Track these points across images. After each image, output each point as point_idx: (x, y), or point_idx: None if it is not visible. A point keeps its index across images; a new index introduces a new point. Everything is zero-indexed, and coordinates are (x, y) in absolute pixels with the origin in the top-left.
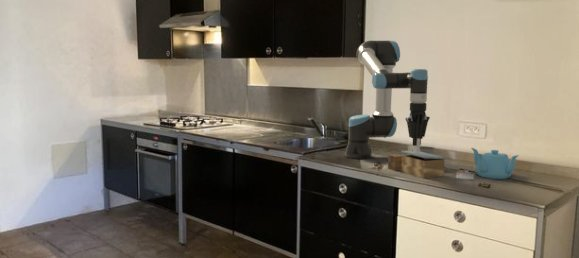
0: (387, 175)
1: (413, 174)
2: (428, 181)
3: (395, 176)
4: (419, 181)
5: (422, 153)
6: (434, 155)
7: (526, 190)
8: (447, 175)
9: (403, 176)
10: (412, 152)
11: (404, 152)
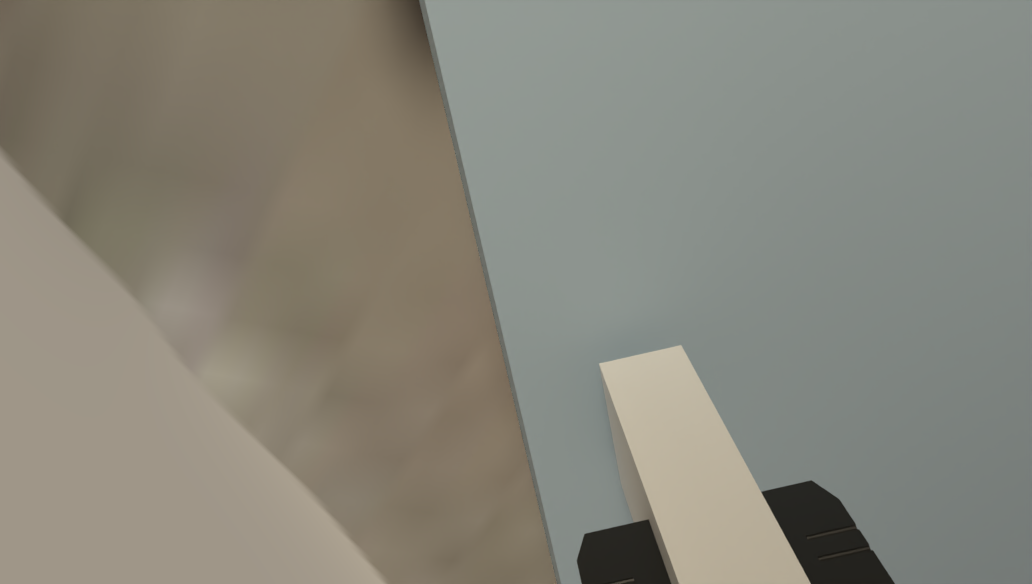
0: (50, 159)
1: None
2: (511, 578)
3: (171, 255)
4: (398, 561)
5: (875, 274)
6: (998, 446)
7: None
8: None
9: (304, 282)
10: (632, 251)
11: (453, 130)
